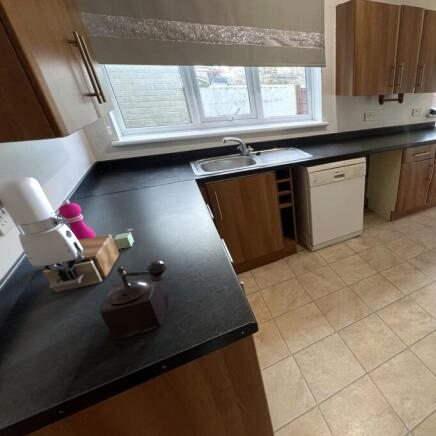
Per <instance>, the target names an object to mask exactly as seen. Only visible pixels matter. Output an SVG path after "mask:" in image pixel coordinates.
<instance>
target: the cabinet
mask: <svg viewBox="0 0 436 436" xmlns="http://www.w3.org/2000/svg"><path fill="white" fill-rule="evenodd" d="M78 241H79V243H80V244H81V246H82V248H83V251H82V252H81V253H82V254H83V255H84V256H85V258H84V259H83V260H86V259H92V258H94V260H95V262H96V264H97V266H98V268H99V270H100V273H101V275H102V279H103V278H104V279H105V278H107V277H108V275H109V273H110V272H111V269H112V268H113V266H114V264H115V263H116V261H117V259H118V258H119V256H120V252H119V250H118V249H117V246H116V244H115V242H114V238H113V236H112V234H104V235H97V236H96V237H92V238H86V239H80V240H78ZM45 270H47V269H45Z"/></svg>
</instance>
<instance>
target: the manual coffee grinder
mask: <svg viewBox="0 0 436 436" xmlns="http://www.w3.org/2000/svg"><path fill="white" fill-rule="evenodd" d="M124 269H125V268H124V267H123V266H118V267H117V268H116V271H117V273H118V274H117V275H118V277H120V278H121V280H122V282H120V283H117V284H112V285H111V286H110V288H109V290H108V292H107V294H106V296H105V298H104V300H103V302H102V304H101V306H100V309H99V315H100V316H101V318H102V319H103V322H104V323H105V325H106V327H107V329H108V331H109V332H110V333H111V334H110V335H111V336H112V338H113V340H114V341H118V340H122V339H125V338H130V337H134V336H137V335H141V334H143V333H146V332H150V331H153V330H155V329H158V328H159V327H162V325H163V321H164V319H165V315H166V314H165V313H166V307H167V306H166V299H165V297H164V295H163V292H162V289H161V286H160V283H159V282H161V281H163V280H164V278H165V275H164V272H165V271H166V270H167V265H166V263H165V262H164V261H162V260H153V261H151V262H149V264H148V266H147V268H146V269H147V270H146V271H125V270H124ZM136 276H146V277H143V278H139V279H133V280H130V281H129V280H128V278H127V277H136Z"/></svg>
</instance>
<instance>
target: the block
mask: <svg viewBox="0 0 436 436" xmlns="http://www.w3.org/2000/svg"><path fill="white" fill-rule="evenodd" d="M113 240H114V243H115V245H116V247H117V250H118V249H120V250H122V249H121V248H125V249H127V248H126V247H131V246H132V247H133V245H134V244H133V242H134V243H135V240H134V237H133V235H132V233H131V231H129V232H125V233H119V234H116V236H115V237H114V238H113ZM132 244H133V245H132ZM132 247H131V248H132Z"/></svg>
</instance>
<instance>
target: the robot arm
mask: <svg viewBox="0 0 436 436" xmlns="http://www.w3.org/2000/svg"><path fill="white" fill-rule="evenodd" d="M3 208H4V209H5V211H6V212H7V214H8V215H9V217H10V218H11V220H12V222H13V224H14V225H15V227H16V229H17V230H18V233H19V234H18V238H19V242H20V246H21V248H22V250H23V252H24V254H25V256H26V258H27V260H28V261H29V263H30V264H31V265H32V266H33V267H34V268H35V270H46V269H48V270H51V271H53V272H54V273H58V275H59V276H60V278H61V280H62V281H64V282H65V281H70V280H74V279H76V278H77V274H76V272H75V270H74V268H73V265H74V264H75V263H77V262H80V261H82V260H83V259H84V258H85V256H84V255H83V254H82V253H81V252H82V251H83V248H82V246H81V244H80V243H79V241H78V240H77V238H76V237H75V235H74V234H73V233H72V231H71V228H69V226H67V224H66V223H64V222H65V219H64V218H65V217H63V216H58V215H57V213H55V211H54V209H53V207H52V205H51V203H50V202H49V200H48V198H47V196H46V194H45V192H44V191H43V189H42V186H41V185H40V183H39V181H38V180H37V179H36V178H34V177H31V176H20V177H12V178H7V179H0V210H2V209H3Z"/></svg>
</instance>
